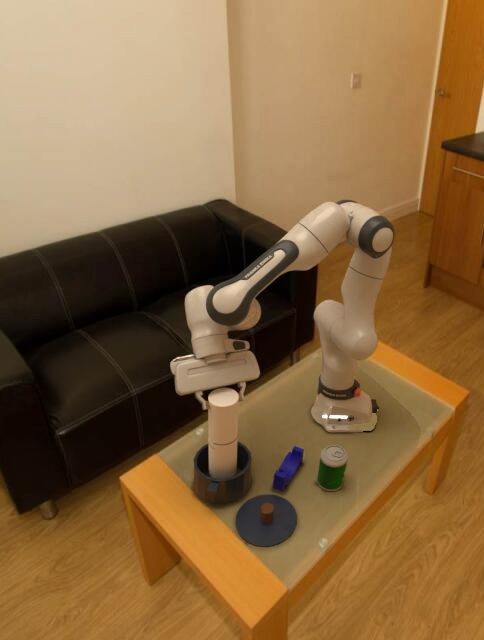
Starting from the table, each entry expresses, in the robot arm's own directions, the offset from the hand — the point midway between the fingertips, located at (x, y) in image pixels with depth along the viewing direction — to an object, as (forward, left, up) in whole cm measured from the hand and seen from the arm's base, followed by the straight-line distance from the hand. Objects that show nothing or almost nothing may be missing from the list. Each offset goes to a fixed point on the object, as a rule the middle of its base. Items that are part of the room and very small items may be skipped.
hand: (224, 405), depth 121 cm
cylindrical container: (0, -1, -23) cm, 23 cm away
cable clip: (-16, -6, -28) cm, 33 cm away
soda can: (-29, -5, -28) cm, 41 cm away
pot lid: (-14, +10, -28) cm, 32 cm away
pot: (0, 0, -28) cm, 28 cm away
